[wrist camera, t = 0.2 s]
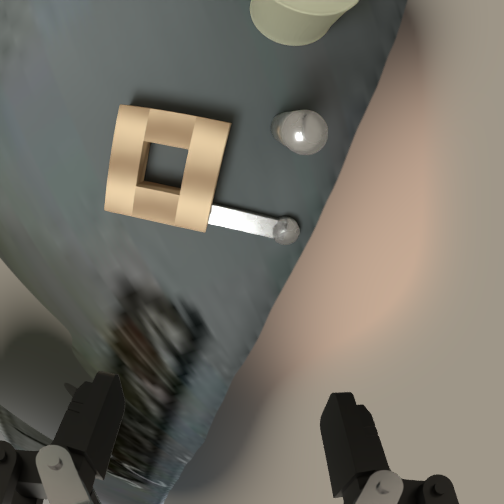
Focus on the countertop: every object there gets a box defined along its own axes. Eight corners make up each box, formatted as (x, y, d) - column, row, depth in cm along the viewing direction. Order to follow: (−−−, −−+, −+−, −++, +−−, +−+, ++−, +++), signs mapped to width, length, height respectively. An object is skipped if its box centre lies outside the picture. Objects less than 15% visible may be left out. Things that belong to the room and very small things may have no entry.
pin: (275, 108, 32) (288, 103, 22) (306, 117, 32) (333, 117, 22) (267, 139, 33) (276, 147, 23) (298, 147, 34) (320, 160, 24)
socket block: (129, 105, 31) (119, 104, 28) (231, 123, 33) (230, 123, 30) (113, 203, 36) (104, 210, 33) (207, 223, 37) (204, 232, 34)
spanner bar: (207, 224, 37) (206, 227, 36) (213, 198, 36) (212, 200, 35) (293, 244, 39) (295, 247, 38) (301, 219, 37) (303, 222, 36)
